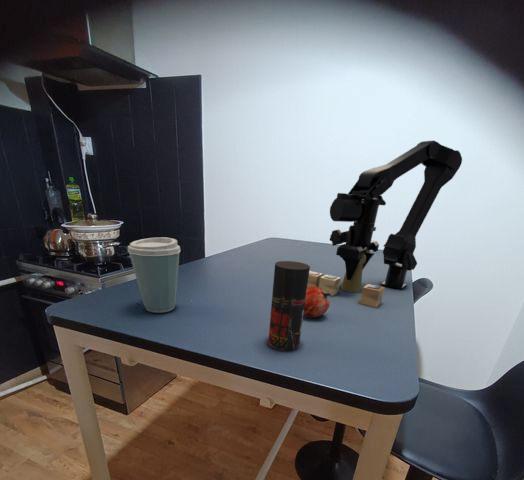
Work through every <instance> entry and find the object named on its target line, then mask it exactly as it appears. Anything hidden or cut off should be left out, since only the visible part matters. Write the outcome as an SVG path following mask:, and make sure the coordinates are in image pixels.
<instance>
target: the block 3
mask: <svg viewBox="0 0 524 480" xmlns="http://www.w3.org/2000/svg"><path fill="white" fill-rule="evenodd" d="M385 289H386V286H380V285H376V284H370V283H367V284H366V285H364V286H363V287H362V289H361V294H360V299H359V304H360V305H363V306H368V307H372V308H377V307H379V306H380V305H381V304H382V301H383V297H384V293H385Z"/></svg>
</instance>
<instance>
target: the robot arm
mask: <svg viewBox="0 0 524 480" xmlns="http://www.w3.org/2000/svg"><path fill="white" fill-rule="evenodd" d="M462 163H463V156H462V154H461V152H460V151H459V150H456V149H455V150H454V149H453V148H451V147H448V146H445V145H442V144H441V143H440V142H438V141H436V140H423V141H420V142H419V143H417V144H416V145H415V146H414V147H412V148H410V149H409V150H406V151H405V152H404V153H401V154H400V155H399V156H397V157H396V158H394V159H393V160H390V161H389V162H387V163H386V164H383V165H379V166H376V167H372V168H369V169H366V170H364V171H362V172H361V173H360V174H359V175H358V179H357V181H356V182H355V183H354V185H352V187H351V189H350V190H349V192H348V193H345V192H338V193H337V195H336V198H334V199H333V201H332V202H331V205H330V207H329V216H330V219H331V220H332V221H333V222H343V223H344V222H346V223H352V224H350V226H349V227H348V230H346V231H341V230H340V229H335V230H332V231H331V234H330V237H329V241H330V242H331V244H332V247H334V246H338V245H339V246H338V247H337V248H336V253H335V254H336V256H339V258H340V259H342V260H343V261H344V265H345V273H346V276H347V280H351V279H352V277H353V275H354V273H355V272H356V270H357V268H358V266H359V265H360V263H361V261H362V259H363V258H361V257H362V255H363V253H364V254H365V255H366V261H365V263H364V264H363V269H362V271H364V269H365V268H366V266H367V264H368V263H369V262H370V260H371V259H372V258H373V256H375V253H376V252H378V251H379V247H380V244H379V242H378V241H377V240H372V238H373V234H374V232H376V230H377V226H376V221H377V216H378V212H379V209H380V208H379V207H380V206H386V204H387V202H386V201H385V200H384V198H383V196H382V195H384V194H385V193H386V192H387V191H388V190H389V189H390V188H391V187H392V186H393V184H394V183H395V181H396V180H397V179H399V178H400V177H402V176H403V175H405V174H407V173H408V172H410V171H411V170H413V169H414V168H416V167H419V166H420V165H422V166H423V167H425V168H424V170H423V179H424V180H423V181H424V182H423V184H422V186H421V187H420V190H419V191H418V194H417V196H416V197H415V199H414V201H413V204H412V205H411V207H410V209H409V211H408V214H407V215H406V217H405V220H404V221H403V223H402V225H401V227H400V229H399V231H397V232H396V233H390V234H389V235H388V237H387V240H386V242H385V243H384V245H383V250H382V255H383V264H384V265H386V266H387V265H388V268H387V273H386V276H385V280H384V281H382V282H381V286H383V287H388V288H393V289H398V290H403V289H404V288H405V287H406V286H407V283H405V280H406V277H407V273H408V271H413V270H415V268H416V267H417V265H418V262H417V260H416V257H415V255H414V252H415V249H416V247H417V243H416V242H417V241H416V240H417V239H416V236H417V234H418V233H419V231H420V230H421V229H420V228H421V227H422V225H423V223H424V221H425V219H426V218H427V216H428V214H429V212H430V210H431V208H432V207H433V204H434V202H435V200H436V198H437V197H438V194H439V193H440V191H441V190H442V188H443V187H444V186H445V185H447V184H448V183H449V182H450V181H451V180H452V179H453V178H454V176H455V175H456V174H457V173H458V171H459V169H460V167H462V166H461V165H462ZM371 251H372V252H371Z"/></svg>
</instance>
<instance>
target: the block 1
mask: <svg viewBox="0 0 524 480" xmlns="http://www.w3.org/2000/svg"><path fill="white" fill-rule="evenodd" d="M322 276H324V273H323V272H317V271H312V270H309V277H308V284H307V287H309V286H315V287H319V281H320V277H322Z"/></svg>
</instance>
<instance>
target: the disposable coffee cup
mask: <svg viewBox="0 0 524 480" xmlns="http://www.w3.org/2000/svg"><path fill="white" fill-rule="evenodd" d="M181 251H182V250H181V246H180V245H179V244H178V240H177V239H176V238H173V237H163V236H162V237H148V238H142V239H137V240H134V241H132V242H130V243H129V245H127V253H128V254H129V257H130V261H131V264H132V268H133V272H134V275H135V279H136V282H137V285H138V288H139V292H140V296H141V299H142V303H143V306H144V307H145V310H146V311H148V312H150V313H157V314H163V313H168V312H171V311H173V310H174V309H175V307H176V304H177V293H178V292H177V291H178V278H179V265H180V253H181Z"/></svg>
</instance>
